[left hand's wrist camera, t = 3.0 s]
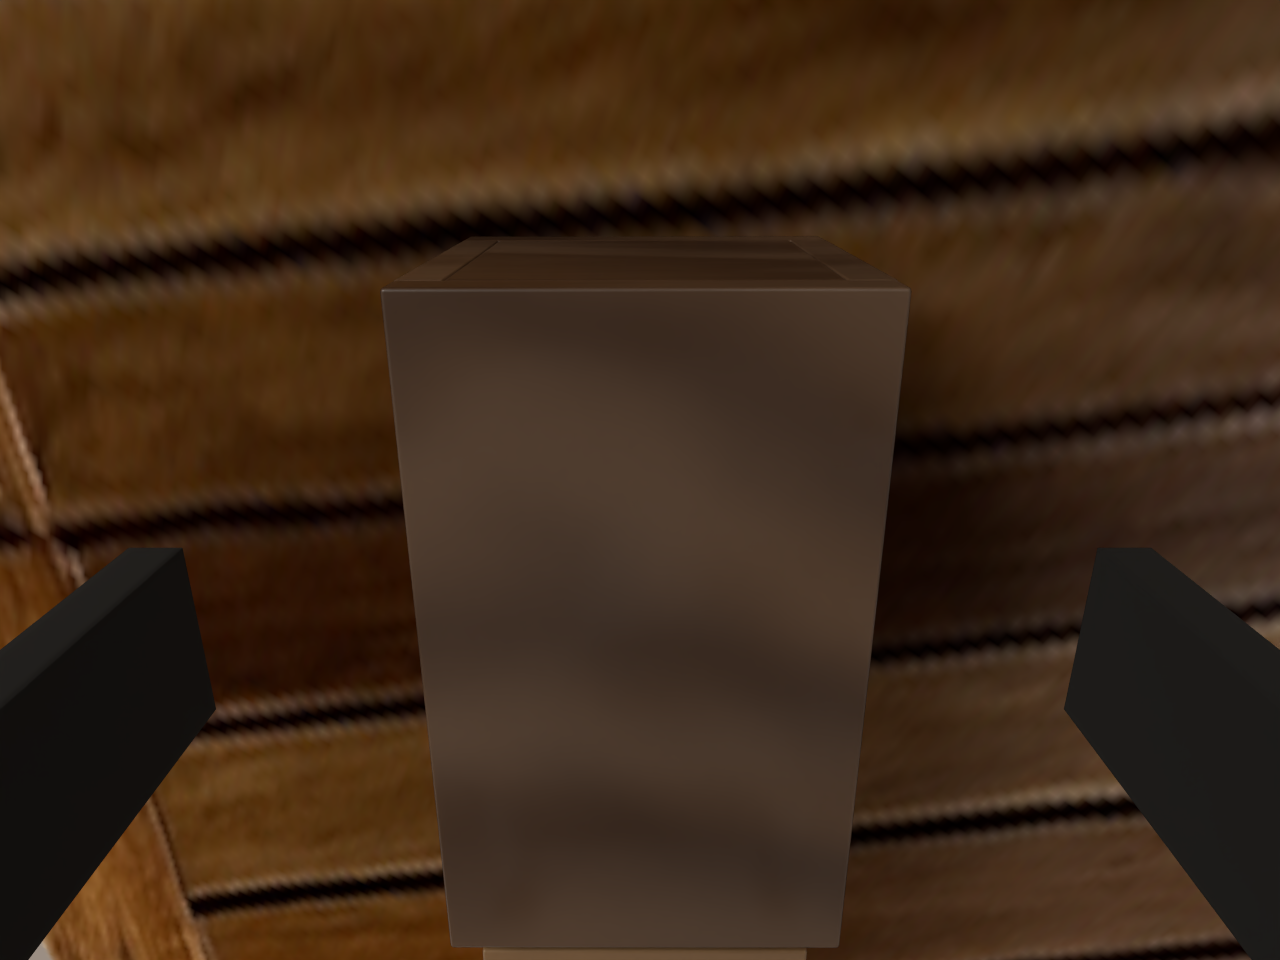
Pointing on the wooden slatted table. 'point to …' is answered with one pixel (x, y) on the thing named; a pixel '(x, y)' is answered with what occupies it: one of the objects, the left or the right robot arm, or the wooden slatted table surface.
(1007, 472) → the wooden slatted table surface
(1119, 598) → the left robot arm
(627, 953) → the drawer
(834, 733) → the cabinet
